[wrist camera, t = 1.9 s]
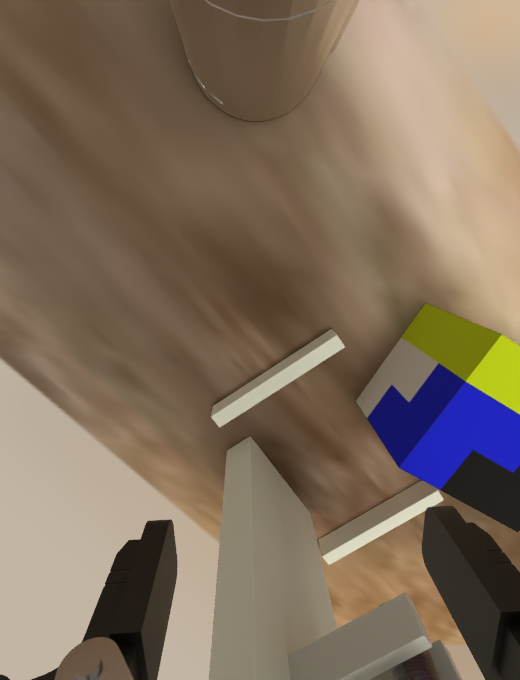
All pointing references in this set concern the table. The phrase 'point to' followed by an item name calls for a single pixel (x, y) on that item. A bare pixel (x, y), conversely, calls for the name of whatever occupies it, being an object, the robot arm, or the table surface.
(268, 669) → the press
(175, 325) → the table surface
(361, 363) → the table surface
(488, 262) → the table surface
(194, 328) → the table surface
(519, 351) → the puzzle toy
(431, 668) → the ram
